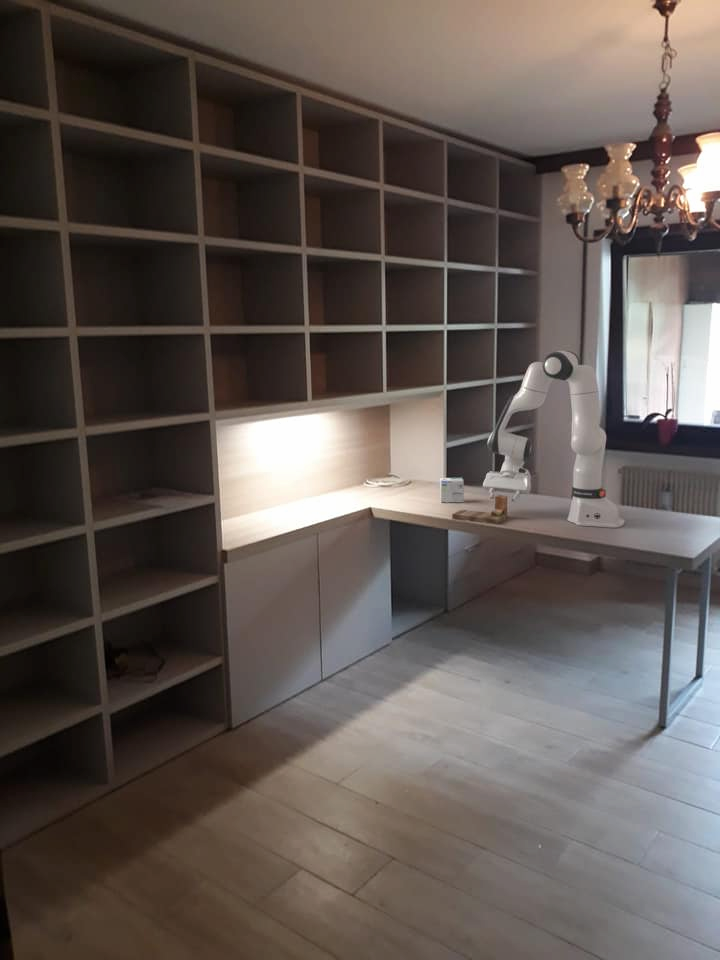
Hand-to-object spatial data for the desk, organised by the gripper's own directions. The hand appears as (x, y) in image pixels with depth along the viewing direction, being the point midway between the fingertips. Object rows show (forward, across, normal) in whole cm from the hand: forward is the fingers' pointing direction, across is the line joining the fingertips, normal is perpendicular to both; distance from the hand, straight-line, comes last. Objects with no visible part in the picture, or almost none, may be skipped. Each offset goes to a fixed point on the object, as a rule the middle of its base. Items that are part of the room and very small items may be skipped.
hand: (502, 499), depth 330 cm
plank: (+12, -7, -2) cm, 14 cm away
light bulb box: (-6, -30, +17) cm, 35 cm away
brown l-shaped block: (+9, 0, +2) cm, 9 cm away
